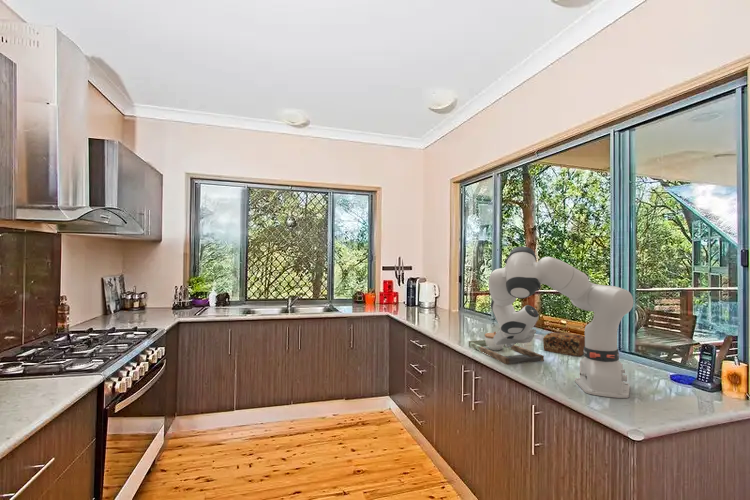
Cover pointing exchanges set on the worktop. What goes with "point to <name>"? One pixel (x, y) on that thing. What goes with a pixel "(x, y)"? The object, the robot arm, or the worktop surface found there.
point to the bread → (564, 343)
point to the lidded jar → (492, 342)
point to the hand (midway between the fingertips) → (508, 346)
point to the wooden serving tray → (525, 358)
